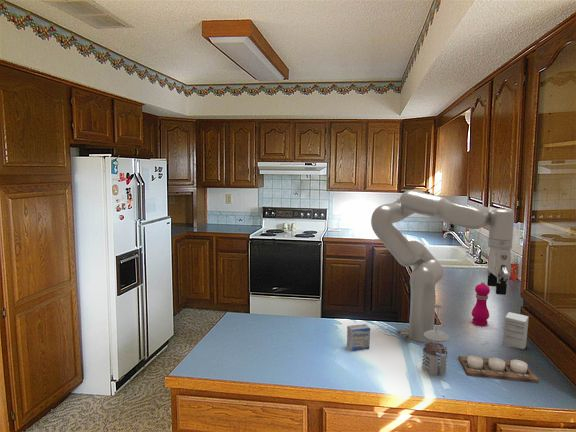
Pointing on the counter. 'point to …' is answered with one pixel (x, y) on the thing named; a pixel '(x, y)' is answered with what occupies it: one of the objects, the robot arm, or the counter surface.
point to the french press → (435, 350)
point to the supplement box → (515, 330)
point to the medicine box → (358, 337)
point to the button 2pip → (518, 366)
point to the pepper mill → (481, 305)
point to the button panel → (497, 374)
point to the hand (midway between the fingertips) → (496, 290)
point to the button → (496, 364)
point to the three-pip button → (474, 362)
